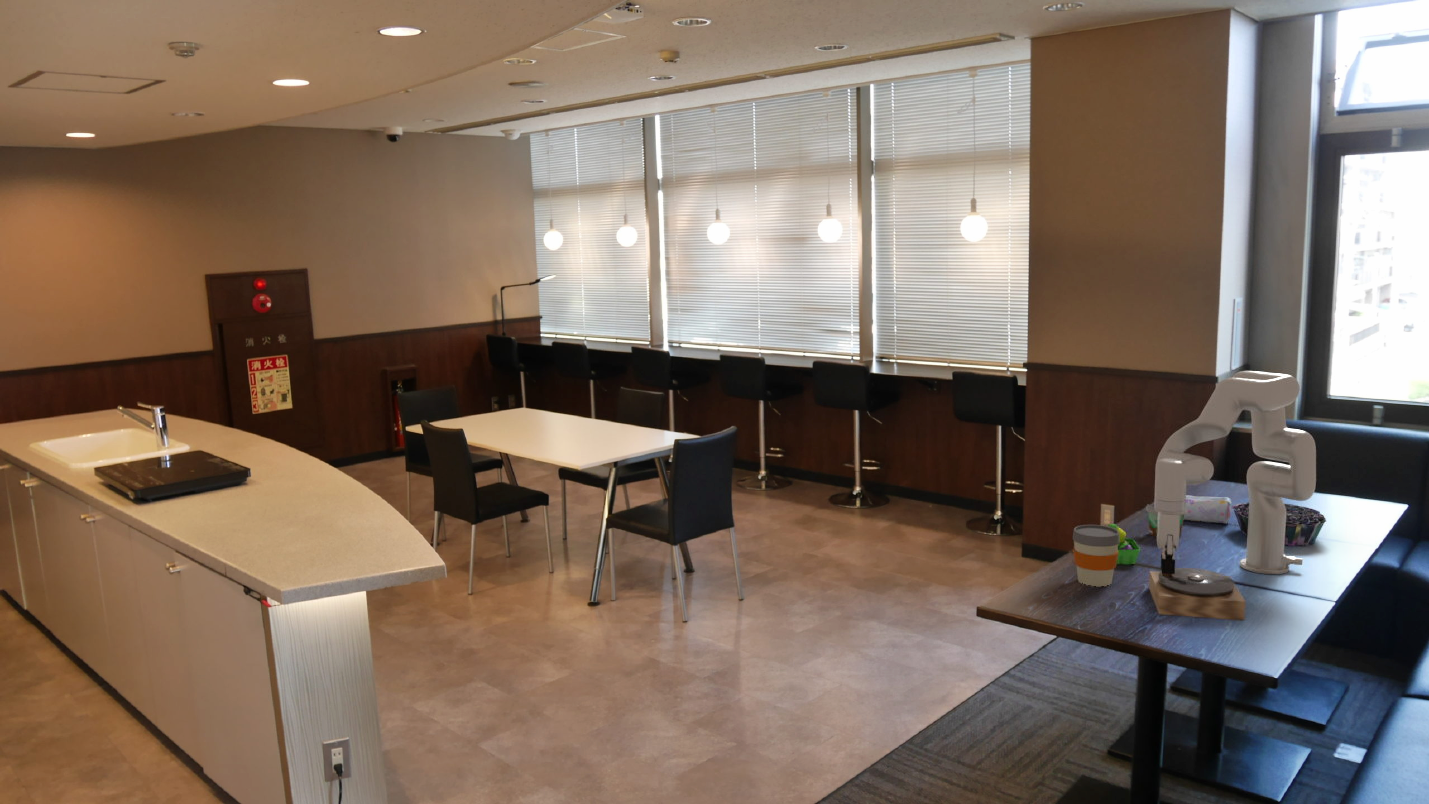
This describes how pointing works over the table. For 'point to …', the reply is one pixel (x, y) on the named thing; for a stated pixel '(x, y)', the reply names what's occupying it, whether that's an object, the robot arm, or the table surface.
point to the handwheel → (1197, 582)
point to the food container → (1154, 518)
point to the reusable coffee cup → (1095, 553)
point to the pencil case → (1208, 509)
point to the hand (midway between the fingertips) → (1167, 570)
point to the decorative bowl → (1290, 523)
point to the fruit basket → (1126, 548)
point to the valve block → (1196, 602)
